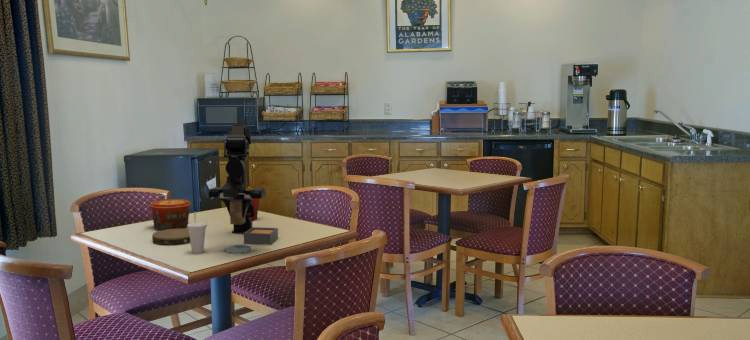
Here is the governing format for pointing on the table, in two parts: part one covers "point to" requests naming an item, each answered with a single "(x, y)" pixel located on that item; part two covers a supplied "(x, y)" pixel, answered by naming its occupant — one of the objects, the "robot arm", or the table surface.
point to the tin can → (171, 237)
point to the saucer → (238, 249)
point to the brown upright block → (236, 212)
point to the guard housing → (260, 236)
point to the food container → (170, 214)
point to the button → (261, 231)
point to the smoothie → (197, 235)
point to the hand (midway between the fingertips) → (237, 217)
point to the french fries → (255, 203)
